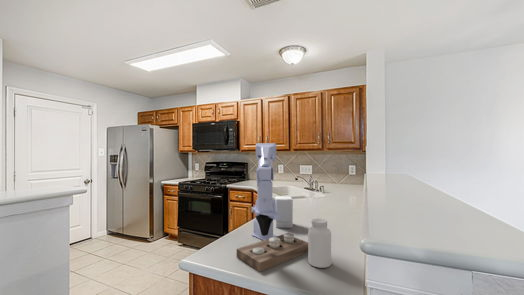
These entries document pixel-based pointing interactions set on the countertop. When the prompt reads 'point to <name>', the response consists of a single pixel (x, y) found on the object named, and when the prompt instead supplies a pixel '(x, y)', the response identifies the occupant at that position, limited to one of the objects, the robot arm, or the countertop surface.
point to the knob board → (271, 253)
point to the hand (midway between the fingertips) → (264, 234)
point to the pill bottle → (319, 244)
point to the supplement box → (284, 212)
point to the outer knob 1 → (258, 251)
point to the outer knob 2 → (288, 238)
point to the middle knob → (274, 243)
